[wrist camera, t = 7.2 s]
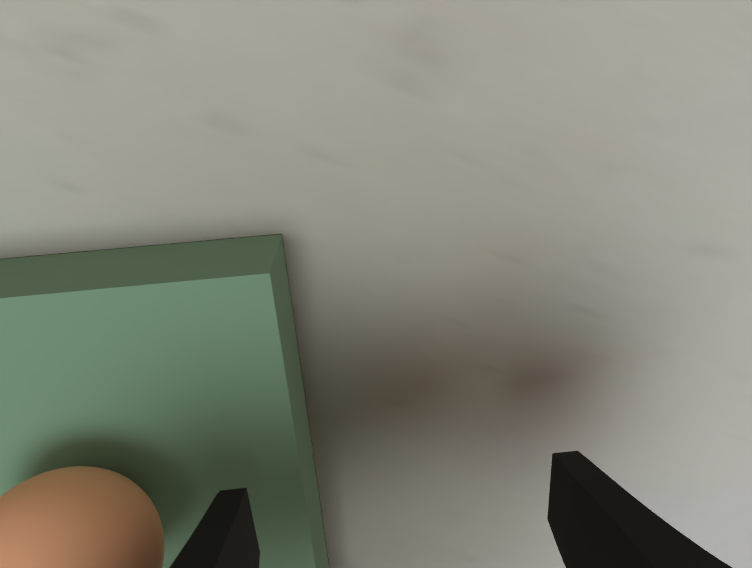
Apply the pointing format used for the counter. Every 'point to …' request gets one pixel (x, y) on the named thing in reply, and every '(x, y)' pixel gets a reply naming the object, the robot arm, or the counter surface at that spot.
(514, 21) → the counter surface
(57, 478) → the terracotta ball
